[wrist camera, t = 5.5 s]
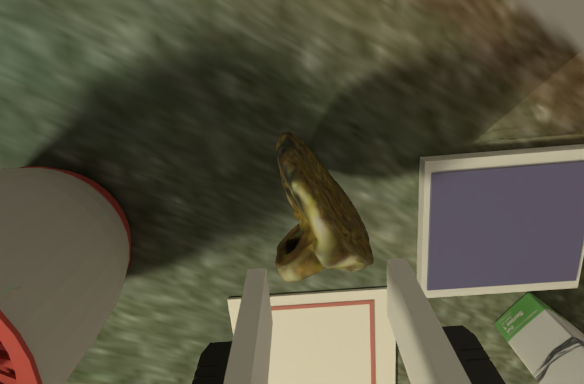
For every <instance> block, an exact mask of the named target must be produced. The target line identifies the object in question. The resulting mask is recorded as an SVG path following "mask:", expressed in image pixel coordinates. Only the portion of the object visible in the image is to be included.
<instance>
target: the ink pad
mask: <svg viewBox="0 0 584 384" xmlns="http://www.w3.org/2000/svg"><path fill="white" fill-rule="evenodd" d="M583 257H584V144H575V145H563V146H551V147H538V148H526V149H513V150H501V151H489V152H476V153H464V154H451V155H439V156H427V157H420V169H419V207H418V245H417V281H418V282H419V284H420V286H421V288H422V290H423V292H424V294H425V296H426V298H434V297H449V296H464V295H479V294H494V293H509V292H524V291H539V290H554V289H569V288H578V283H579V278H580V273H581V268H582V262H583Z"/></svg>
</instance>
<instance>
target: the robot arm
mask: <svg viewBox="0 0 584 384" xmlns="http://www.w3.org/2000/svg"><path fill="white" fill-rule="evenodd" d="M387 316H388V319H389V322H390V325H391V327H392V330H393V333H394V336H395V339H396V342H397V345H398V348H399V351H400V354H401V357H402V359H403V362H404V365H405V368H406V371H407V374H408V377H409V380H410V383H411V384H505V382H504V381H503V379H502V378H501V376H500V374H499V373H498V371H497V370H496V368H495V366H494V365H493V363H492V362H491V361H490V359H489V357H488V355H487V354H486V352H485V350H483V347H482V345H481V344H480V342H479V341H478V339H477V337H476V336H475V335H474V334H473V333H471V332H470V331H469V330H468V329H466V328H465V327H464V326H463V325H462V326H447V327H442V326H441V325H440V323H439V321H438V319H437V317H436V315H435V313H434V311H433V309H432V307H431V305H430V304H429V302H428V300H427V298H426V296H425V294H424V292H423V290H422V288H421V286H420V284H419V282H418V281H417V279H416V277H415V275H414V273H413V271H412V269H411V267H410V265H409V263H408V261H407V260H406V258H400V259H387ZM272 326H273V320H272V312H271V304H270V296H269V288H268V280H267V272H266V268H260V269H248V270H247V275H246V280H245V284H244V289H243V294H242V299H241V303H240V308H239V313H238V317H237V322H236V327H235V331H234V336H233V341H230V342H215V343H210V344H209V345H208V346H207V348H206V349H205V350H204V351H203V352H202V354H201V356H200V359H199V362H198V366H197V369H196V372H195V376H194V380H193V382H192V384H268V375H269V363H270V351H271V338H272Z"/></svg>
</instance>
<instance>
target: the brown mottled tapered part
mask: <svg viewBox="0 0 584 384" xmlns="http://www.w3.org/2000/svg"><path fill="white" fill-rule="evenodd" d="M276 151H277V158H278V165H279V168H280V175H281V180H282V186H283V188H284V190H285V192H286V195H287V198H288V200H289V203H290V204H291V206H292V208H293V209H294V216H295V218H297V219H299V224H298V225H297V226H296V227H294V228H293V229H292V230H291V231H290V232H289V233H288V234H287V235H286V236H285V238H284V239H283V240H282V241H281V242H280V243H279V245H278V246H277V257H276V262H275V263H276V267H277V270H278V272H279V274H280V275H281V277H282V278H283V280H285V281H286V282H295V281H300V280H303V279H305V278H307V277H309V276H312V275H314V274H316V273H318V272H320V271H321V270H323V269H325V268H326V269H329V270H334V269H345V270H349V271H360V270H363V269H365V268H367V267H368V266H370V265H372V264H373V256H372V250H371V247H370V244H369V237H368V233H367V231H366V229H365V226H364V223H363V222H362V220H361V218H360V216H359V214H358V212H357V210H356V208H355V207H354V205H353V204H352V202H351V201H350V199H349V198H348V196H347V195H346V193H345V192H344V190H343V189H342V188H341V187H340V185H339V184H338V183H337V182H336V181H335V180H334V179H333V178H332V177H331V175H330V174H329V172H328V171H327V169H325V168H324V166H323V165H322V164H321V162H320V161H319V159H318V158H317V156H316V155H315V154H314V153H313V152H312V151H311V149H310V148H309V147H308V146H307V145H306V144H305V143H304V142H303V141H302V140H301V139H300V138H298V137H297V136H296V135H295V134H294V133H293V132H292V131H289V132H286V133H283V134H282V135H281V136H280V137H279V138H278V140H277V145H276Z"/></svg>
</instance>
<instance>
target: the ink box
mask: <svg viewBox="0 0 584 384" xmlns="http://www.w3.org/2000/svg"><path fill="white" fill-rule="evenodd" d="M495 326H496V327H497V329H498V330H499V331H500V332H501V334H502V335H503V336H504V338H505V339H506V340H507V342H508V343H509V344H510V346H511V347H512V348H513V350H514V351H515V352H516V354H517V355H518V356H519V357H520V359H521V360H522V361H523V363H524V364H525V365H526V367H527V368H528V369H529V371H530V372H531V373H532V375H533V376H534V377H535V379H536V380H537V381H538V383H539V384H584V334H583V333H582V332H581V331H580V330H578V329H577V328H576V327H574V326H573V325H572V324H571V323H569V322H568V321H567V320H565V319H564V318H563V317H562V316H560V315H559V314H558V313H556V312H555V311H554V310H553V309H551V308H550V307H549V306H547V305H546V304H545V303H544V302H542V301H541V300H540V299H539V298H537V297H536V296H535V295H533V294H532V293H529V292H528V293H527V294H526V295H524V296H523V297H522V298H521V299H520V300H519V301H518V302H516V303H515V304H514V305H513V306H512V307H511V308H510V309H509V310H507V311H506V312H505V313H504V314H503V315H502V316H501V317H500V318H499V319H498V320H497V321H496V322H495Z"/></svg>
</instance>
